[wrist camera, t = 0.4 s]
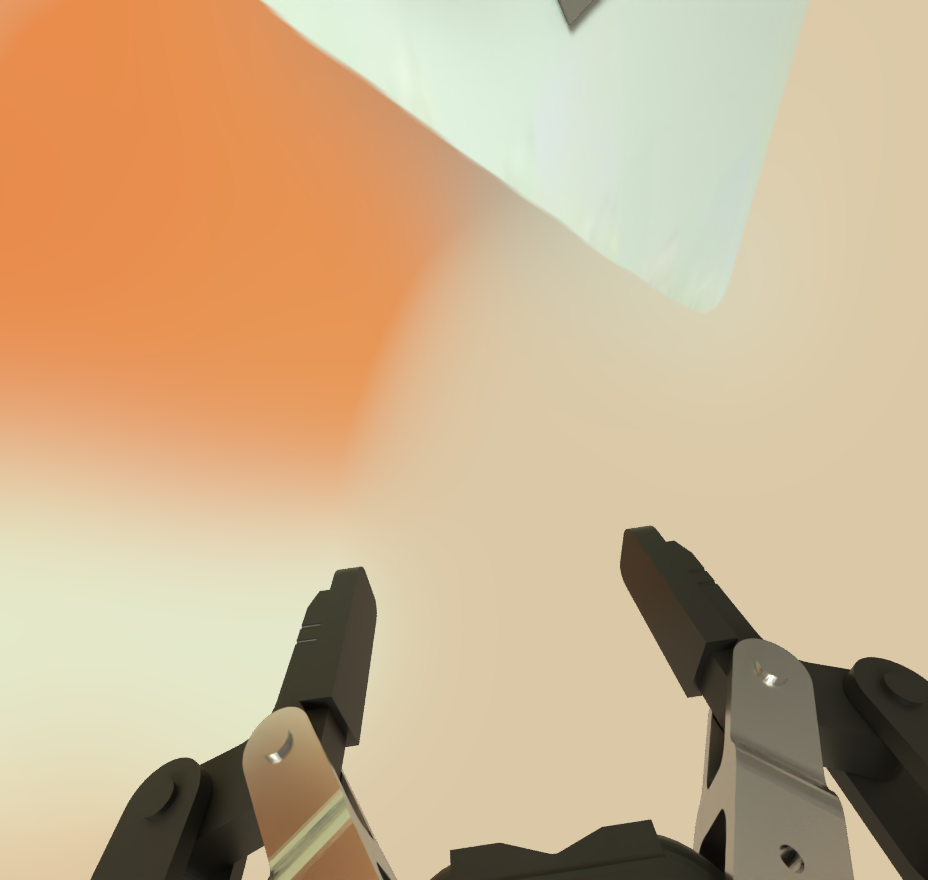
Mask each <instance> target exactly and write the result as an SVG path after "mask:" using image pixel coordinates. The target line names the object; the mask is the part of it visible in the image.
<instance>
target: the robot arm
mask: <svg viewBox="0 0 928 880" xmlns="http://www.w3.org/2000/svg"><path fill="white" fill-rule="evenodd" d="M620 569H621V574H622V577H623V581H624V583H625V585H626V587H627V589H628V591H629V592H630V594H631V596H632V598H633V600H634V602H635V603H636V605H637V607H638V609H639V611H640V612H641V614H642V616H643V618H644V620H645V621H646V623H647V625H648V627H649V629H650V631H651V632H652V634H653V636H654V638H655V639H656V641H657V643H658V645H659V647H660V649H661V650H662V652H663V654H664V656H665V658H666V660H667V661H668V663H669V665H670V667H671V669H672V671H673V672H674V674H675V676H676V678H677V680H678V681H679V683H680V685H681V687H682V689H683V691H684V692H685V694H686V696H687V698H689V697H695V696H702V695H703V697H704V698H705V700H706V702H707V703H708V705H709V707H710V709H709V713H708V725H707V737H706V750H705V763H704V774H703V786H702V787H703V788H702V795H701V801H700V805H699V810H698V815H697V820H696V826H695V834H694V845H693V849H691V848H689V847H687V846H685V845H683V844H681V843H680V842H678V841H675V840H673V839H670V838H667V837H665V836H661V835H657V834H656V831H655V828H654V826H653V823H652V821H651V820H645V821H639V822H632V823H625V824H620V825H612V826H606V827H601V828H600V829H598V830H596V831H595V832H593V833H591V834H590V835H588V836H586V837H584V838H583V839H581V840H579V841H578V842H576V843H574V844H573V845H571V846H570V847H568V848H566V849H564V850H563V851H561V852H559V853H557V854H548V853H543V852H539V851H535V850H530V849H525V848H521V847H517V846H512V845H508V844H503V843H495V844H488V845H481V846H476V847H468V848H462V849H456V850H450V859H451V860H450V862H451V865H450V866H448V867H446V868H444V869H443V870H441V871H440V872H439V873H438V874H436V875H435V876H434V877H433V878H432V879H431V880H854V876H853V870H852V863H851V856H850V850H849V843H848V836H847V829H846V823H845V817H844V812H843V808H842V805H841V802H840V800H839V798H838V796H837V795H836V794H835V793H834V792H833V791H831V790H829V789H828V787H827V785H826V782H825V777H824V770H823V767H826V768H827V769H828V771H829V772H830V774H831V775H832V777H833V778H834V779H835V781H836V782H837V784H838V785H839V787H840V788H841V790H842V791H843V793H844V794H845V796H846V797H847V798H848V800H849V801H850V803H851V804H852V806H853V807H854V809H855V810H856V811H857V813H858V814H859V816H860V817H861V819H862V820H863V822H864V823H865V825H866V826H867V827H868V829H869V831H870V832H871V834H872V835H873V836H874V838H875V839H876V841H877V842H878V844H879V845H880V847H881V848H882V849H883V851H884V853H885V854H886V855H887V856H888V858H889V860H890V861H891V863H892V864H893V865H894V867H895V868H896V870H897V871H898V873H899V874H900V876H901V877H902V879H903V880H928V681H927V680H926V679H924V678H923V677H921V676H920V675H918V674H917V673H915V672H914V671H912V670H910V669H908V668H906V667H904V666H902V665H900V664H898V663H895V662H892V661H889V660H886V659H882V658H875V657H867V658H863V659H860V660H858V661H857V662H856V663H855V665H854V666H853V667H852V669H851V670H849V669H843V668H838V667H831V666H826V665H820V664H814V663H808V662H804V661H800V660H798V659H797V658H796V657H795V656H793V655H792V654H791V653H790V652H788V651H787V650H785V649H784V648H782V647H780V646H778V645H776V644H774V643H772V642H768V641H766V640H763V639H762V638H761V637H760V636H759V635H758V633H757V632H756V631H755V630H754V629H753V628H752V626H751V625H750V624H749V623H748V621H747V620H746V619H745V618H744V616H743V615H742V614H741V613H740V612H739V610H738V609H737V608H736V607H735V605H734V604H733V603H732V602H731V600H730V599H729V598H728V597H727V596H726V594H725V593H724V592H723V591H722V589H721V588H720V587H719V586H718V584H715V582H714V580H713V578H712V577H711V576H710V575H709V573H708V572H707V571H705V570H704V567H703V566H702V565H701V563H700V562H699V561H698V560H697V559H696V557H695V556H694V555H693V554H692V553H691V552H690V551H688V550H687V549H685V548H684V547H682V546H681V545H680V544H678V543H677V542H675V541H669V542H666V541H665V540H664V539H663V537H662V536H661V535H660V533H659V532H658V531H657V530H656V529H655V528H654V527H653V526H645V527H638V528H631V529H626V530H625V532H624V537H623V545H622V552H621V561H620ZM376 614H377V610H376V601H375V597H374V595H373V592H372V589H371V586H370V584H369V581H368V578H367V575H366V572H365V570H364V568H363V567H356V568H348V569H342V570H337V571H336V572H335V574H334V578H333V581H332V585H331V588H330V590H326V591H320V592H319V593H318V594H317V596H316V597H315V598H314V600H313V601H312V603H311V604H310V605H309V607H308V608H307V611H306V614H305V618H304V620H303V623H302V629H301V630H300V633H299V636H298V639H297V644H296V645H295V648H294V651H293V654H292V657H291V660H290V663H289V666H288V669H287V672H286V675H285V678H284V681H283V685H282V687H281V690H280V694H279V697H278V700H277V702H276V705H275V708H274V709H273V711H272V713H271V714H270V715H269V716H268V717H266V718H265V719H264V720H263V721H262V722H261V723H260V724H259V725H258V726H257V728H256V729H255V730H254V732H253V733H252V735H251V736H250V738H249V739H248V740H247V741H245V742H244V743H242V744H240V745H239V746H237V747H235V748H233V749H231V750H229V751H227V752H225V753H223V754H221V755H219V756H217V757H215V758H213V759H211V760H209V761H207V762H205V763H203V764H201V765H199V764H198V763H197V762H195V761H194V760H193V759H191V758H179V759H175V760H172V761H171V762H168V763H166V764H165V765H163V766H161V767H160V768H159V769H158V770H156V771H155V772H154V773H152V774H151V775H150V776H149V777H148V778H147V779H146V780H145V781H144V782H143V783H142V785H140V787H139V788H138V789H137V791H136V792H135V793H134V795H133V796H132V798H131V799H130V801H129V802H128V804H127V806H126V808H125V810H124V812H123V814H122V816H121V818H120V820H119V822H118V824H117V826H116V828H115V830H114V832H113V835H112V837H111V839H110V841H109V843H108V845H107V847H106V849H105V851H104V853H103V855H102V857H101V859H100V861H99V863H98V865H97V867H96V869H95V871H94V873H93V876H92V878H91V880H241V879H242V875H243V871H244V868H245V863H246V860H247V856H248V855H249V854H251V853H252V852H254V851H256V850H258V849H259V848H261V847H263V846H265V850H266V853H267V857H268V861H269V865H270V877H269V878H268V880H397V879H396V877H395V875H394V873H393V871H392V869H391V867H390V865H389V863H388V861H387V860H386V858H385V856H384V854H383V852H382V851H381V849H380V847H379V845H378V843H377V841H376V839H375V837H374V835H373V833H372V831H371V828H370V826H369V824H368V822H367V820H366V818H365V816H364V814H363V812H362V810H361V808H360V805H359V804H358V801H357V799H356V797H355V795H354V793H353V791H352V789H351V787H350V785H349V783H348V780H347V778H346V776H345V774H344V772H343V770H342V763H343V757H344V750H345V747H349V746H356V745H359V740H360V733H361V725H362V719H363V712H364V705H365V697H366V690H367V683H368V675H369V669H370V661H371V654H372V647H373V639H374V633H375V626H376V617H377V615H376Z"/></svg>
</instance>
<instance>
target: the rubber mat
mask: <svg viewBox="0 0 928 880" xmlns="http://www.w3.org/2000/svg"><path fill="white" fill-rule="evenodd" d="M558 1H559V3H560V5H561V8H562V10H563V13H564V15H565V18H566V20H567V22H568V25H570V24H571V23H572V22H573V21H574V20H575V19H576V18H577V17H578V16H579V15H580V14H581V13H582V11H583V10H584V9H585V8H586V7H587V6H588V5H589V4H590V3H591V2H592V1H593V0H558Z"/></svg>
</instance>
